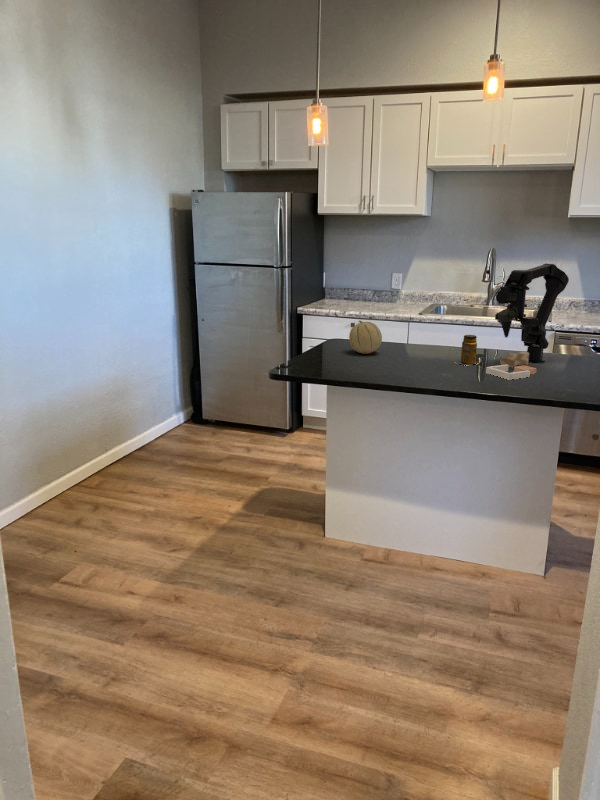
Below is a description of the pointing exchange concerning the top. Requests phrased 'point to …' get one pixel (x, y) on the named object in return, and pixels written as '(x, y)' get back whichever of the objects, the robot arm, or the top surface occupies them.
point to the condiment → (468, 350)
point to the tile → (525, 369)
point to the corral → (501, 372)
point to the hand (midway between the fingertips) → (514, 339)
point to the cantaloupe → (365, 337)
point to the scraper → (515, 359)
